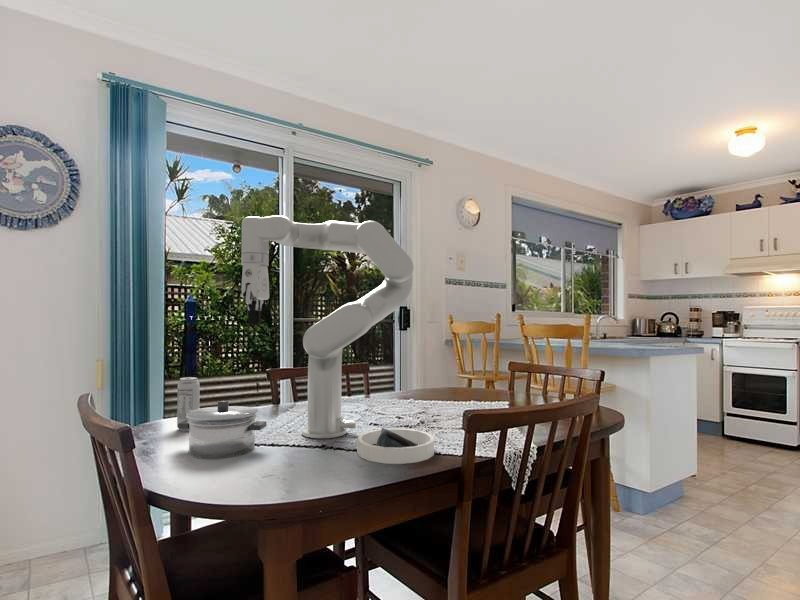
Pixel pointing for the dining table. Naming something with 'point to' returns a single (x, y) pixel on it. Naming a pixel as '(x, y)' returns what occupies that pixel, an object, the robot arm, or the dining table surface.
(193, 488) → the dining table surface
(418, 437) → the round white tray
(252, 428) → the pot
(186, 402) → the energy drink can
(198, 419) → the lid
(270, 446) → the dining table surface
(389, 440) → the dark grey wedge
